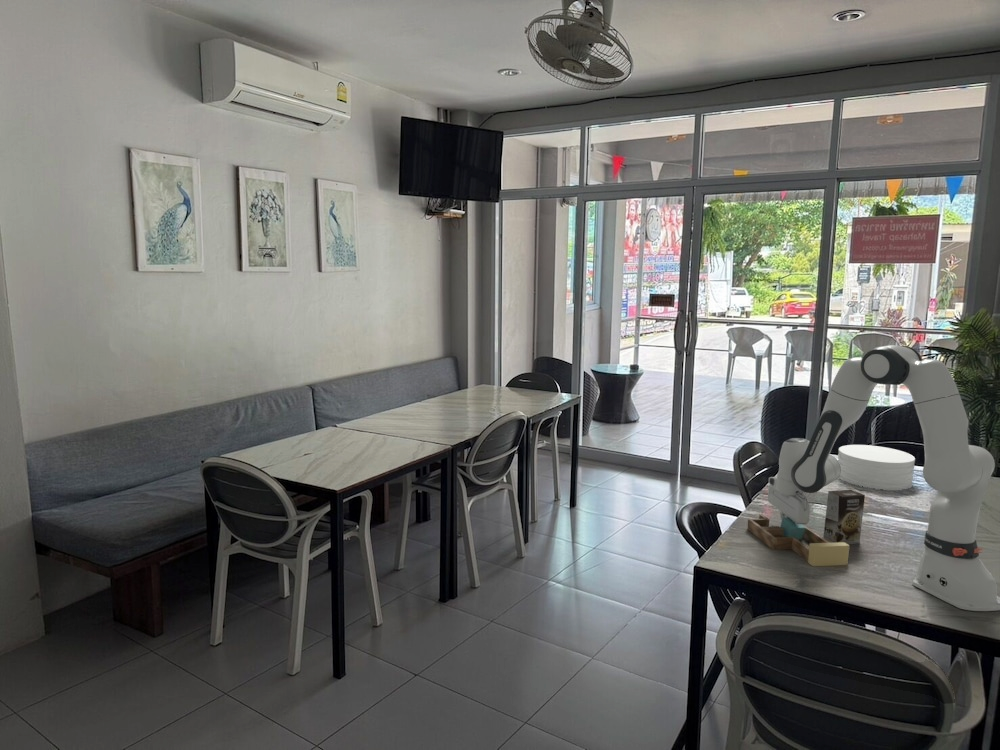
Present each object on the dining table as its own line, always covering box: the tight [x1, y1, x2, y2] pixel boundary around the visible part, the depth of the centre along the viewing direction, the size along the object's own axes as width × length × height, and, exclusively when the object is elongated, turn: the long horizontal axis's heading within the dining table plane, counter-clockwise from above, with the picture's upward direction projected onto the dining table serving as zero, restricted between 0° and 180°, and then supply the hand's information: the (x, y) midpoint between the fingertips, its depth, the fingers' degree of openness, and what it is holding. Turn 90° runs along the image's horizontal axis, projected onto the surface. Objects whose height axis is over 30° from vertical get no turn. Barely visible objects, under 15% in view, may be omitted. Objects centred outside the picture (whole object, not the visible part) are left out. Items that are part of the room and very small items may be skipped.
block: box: [780, 518, 806, 541], centre depth 225 cm, size 5×5×5 cm
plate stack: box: [837, 444, 916, 491], centre depth 290 cm, size 28×28×12 cm
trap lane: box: [746, 513, 831, 562], centre depth 222 cm, size 31×16×4 cm, turn 7°
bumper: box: [807, 542, 850, 567], centre depth 206 cm, size 2×11×6 cm, turn 97°
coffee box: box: [822, 489, 866, 545], centre depth 223 cm, size 9×6×16 cm
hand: (785, 526), depth 229 cm, fingers closed
